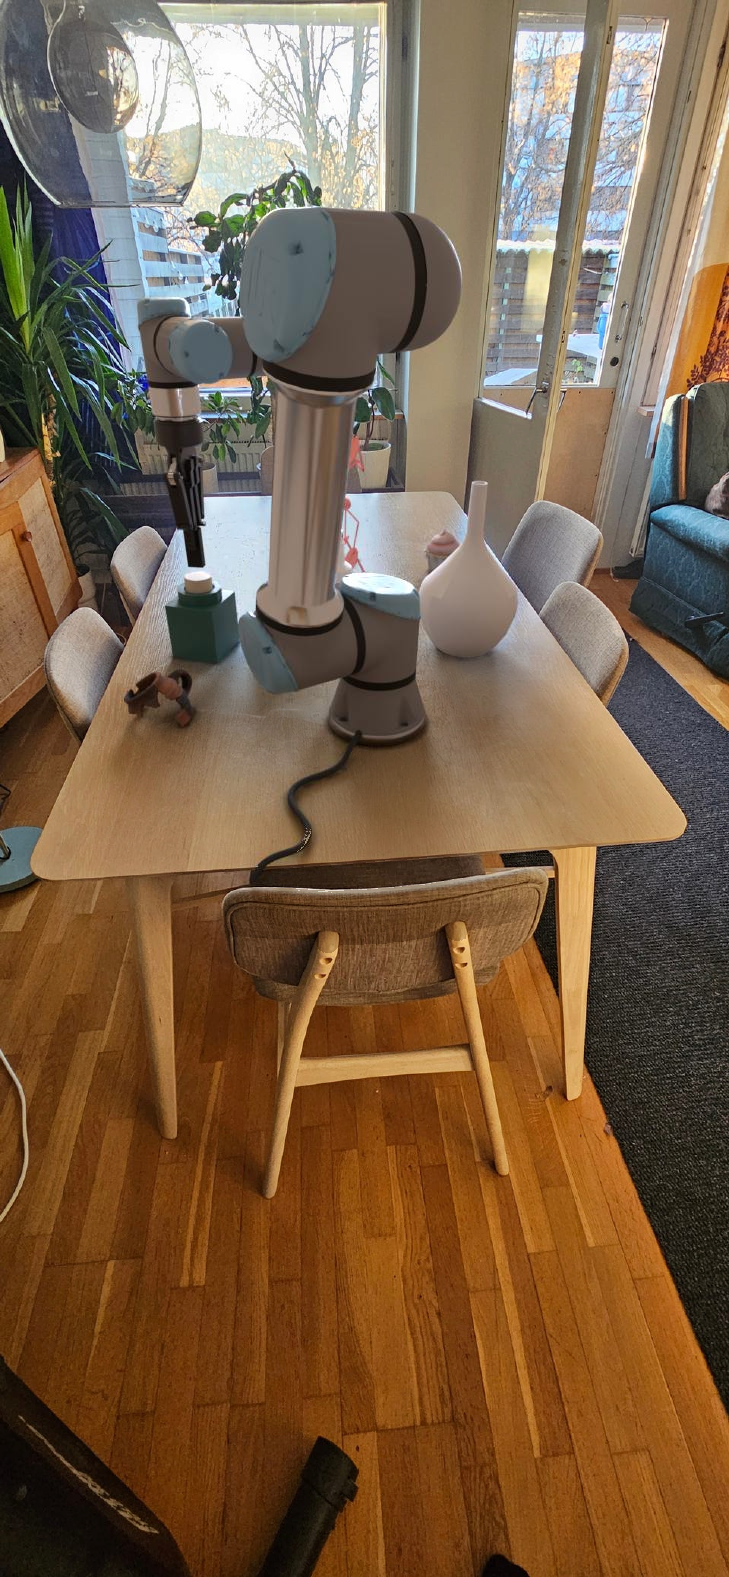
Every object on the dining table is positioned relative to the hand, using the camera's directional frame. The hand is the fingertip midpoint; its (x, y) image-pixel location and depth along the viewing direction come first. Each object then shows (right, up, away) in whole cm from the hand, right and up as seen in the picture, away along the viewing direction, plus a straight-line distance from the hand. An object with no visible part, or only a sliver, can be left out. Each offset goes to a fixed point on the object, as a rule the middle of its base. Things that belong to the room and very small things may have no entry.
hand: (196, 566), depth 126 cm
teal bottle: (0, -13, +10) cm, 16 cm away
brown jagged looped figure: (-3, -27, -9) cm, 29 cm away
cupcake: (+48, +12, +45) cm, 67 cm away
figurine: (+22, +13, +46) cm, 52 cm away
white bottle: (+23, -5, +21) cm, 32 cm away
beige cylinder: (0, -3, +3) cm, 4 cm away
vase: (+48, -12, +12) cm, 51 cm away
